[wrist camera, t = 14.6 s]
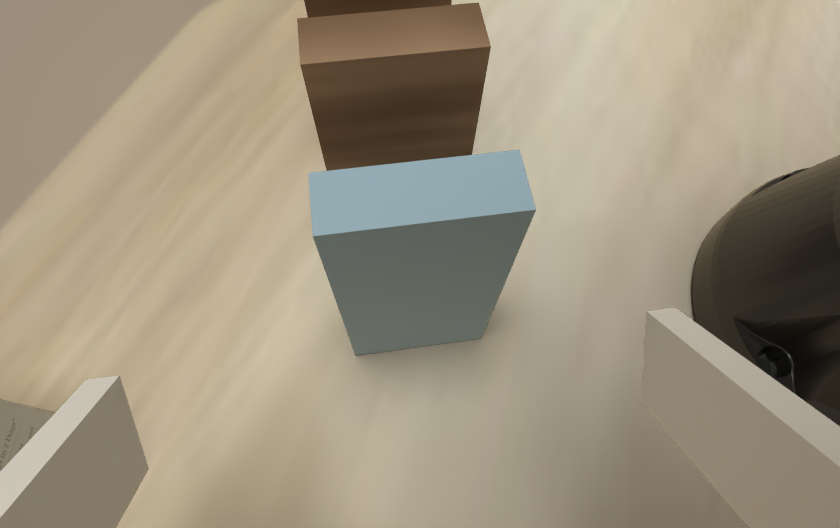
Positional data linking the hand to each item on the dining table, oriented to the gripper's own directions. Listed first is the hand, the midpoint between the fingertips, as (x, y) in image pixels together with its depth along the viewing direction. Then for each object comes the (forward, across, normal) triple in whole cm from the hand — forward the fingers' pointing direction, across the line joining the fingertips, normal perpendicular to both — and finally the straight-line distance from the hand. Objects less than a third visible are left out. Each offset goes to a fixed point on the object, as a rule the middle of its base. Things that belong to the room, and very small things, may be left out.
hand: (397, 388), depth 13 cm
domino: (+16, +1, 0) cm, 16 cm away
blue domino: (+11, +1, -4) cm, 12 cm away
